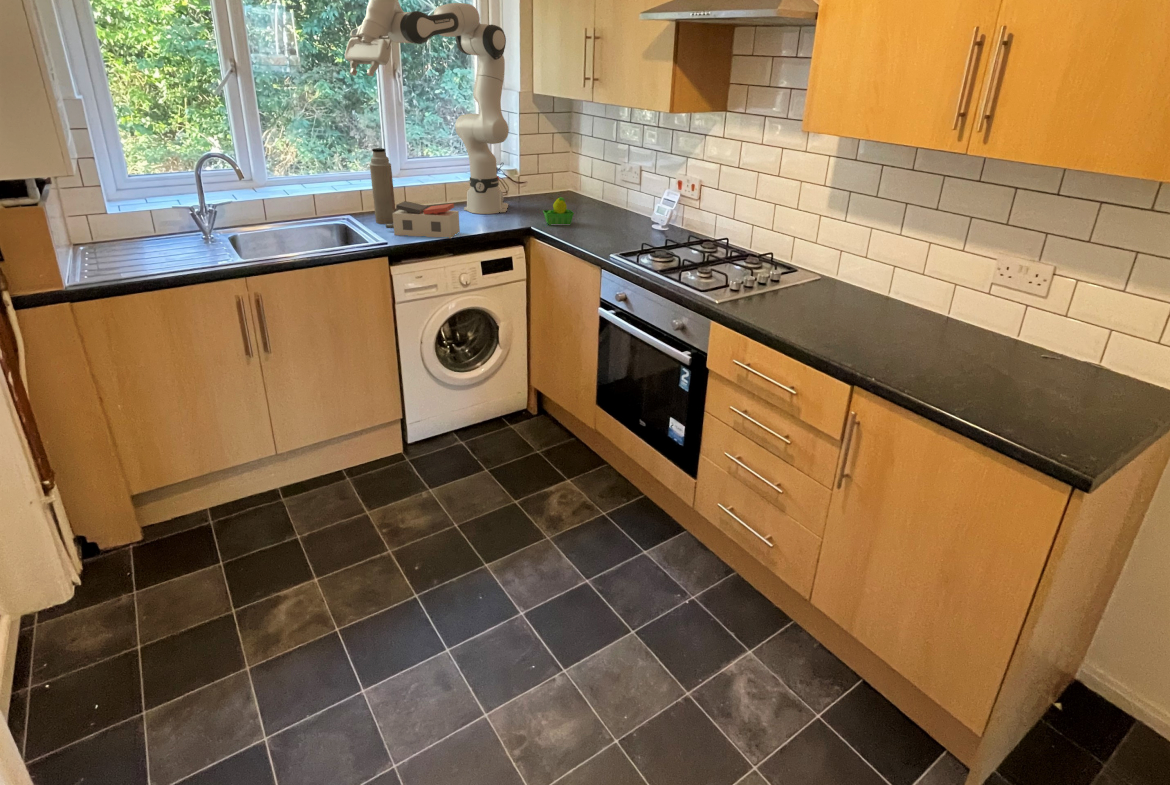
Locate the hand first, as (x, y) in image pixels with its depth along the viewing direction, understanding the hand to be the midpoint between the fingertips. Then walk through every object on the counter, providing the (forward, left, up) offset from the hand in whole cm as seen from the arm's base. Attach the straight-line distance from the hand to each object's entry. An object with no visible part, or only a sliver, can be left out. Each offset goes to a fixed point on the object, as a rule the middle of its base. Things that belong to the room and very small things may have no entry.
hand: (361, 75), depth 244 cm
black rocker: (-4, +12, -46) cm, 48 cm away
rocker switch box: (-4, +15, -54) cm, 57 cm away
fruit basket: (-31, +63, -55) cm, 89 cm away
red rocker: (-4, +23, -46) cm, 52 cm away
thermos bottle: (-19, -5, -55) cm, 58 cm away
